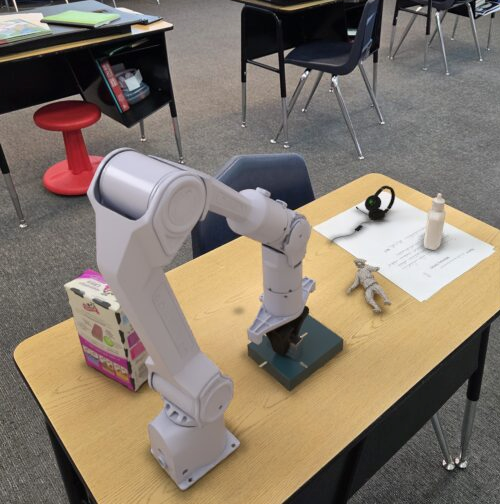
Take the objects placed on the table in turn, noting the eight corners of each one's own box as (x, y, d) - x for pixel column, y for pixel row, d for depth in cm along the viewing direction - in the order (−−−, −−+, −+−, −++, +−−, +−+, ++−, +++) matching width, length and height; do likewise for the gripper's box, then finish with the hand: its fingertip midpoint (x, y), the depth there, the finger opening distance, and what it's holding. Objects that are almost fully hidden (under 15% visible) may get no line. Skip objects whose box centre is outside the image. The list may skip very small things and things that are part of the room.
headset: (321, 249, 123) (379, 193, 129) (343, 263, 118) (402, 204, 124) (312, 229, 118) (372, 173, 125) (334, 243, 113) (396, 183, 120)
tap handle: (303, 354, 85) (303, 337, 83) (296, 361, 84) (296, 344, 82) (272, 338, 88) (272, 321, 86) (265, 344, 87) (265, 327, 85)
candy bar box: (158, 371, 85) (143, 291, 77) (135, 393, 82) (116, 312, 73) (109, 344, 90) (88, 266, 82) (84, 364, 87) (61, 284, 78)
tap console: (282, 398, 81) (282, 386, 80) (239, 360, 87) (238, 348, 86) (343, 350, 89) (344, 338, 88) (300, 319, 95) (300, 307, 94)
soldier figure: (360, 321, 96) (332, 268, 103) (373, 325, 100) (345, 273, 107) (394, 296, 94) (363, 243, 101) (406, 301, 98) (375, 249, 104)
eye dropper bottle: (415, 243, 115) (422, 194, 108) (432, 233, 118) (440, 185, 111) (431, 252, 112) (439, 203, 106) (448, 242, 115) (457, 194, 109)
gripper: (289, 247, 85) (290, 311, 93) (228, 297, 75) (234, 365, 82) (327, 262, 82) (325, 328, 89) (268, 317, 72) (271, 386, 79)
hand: (284, 347), depth 86 cm, fingers closed on tap handle, 2 cm apart
